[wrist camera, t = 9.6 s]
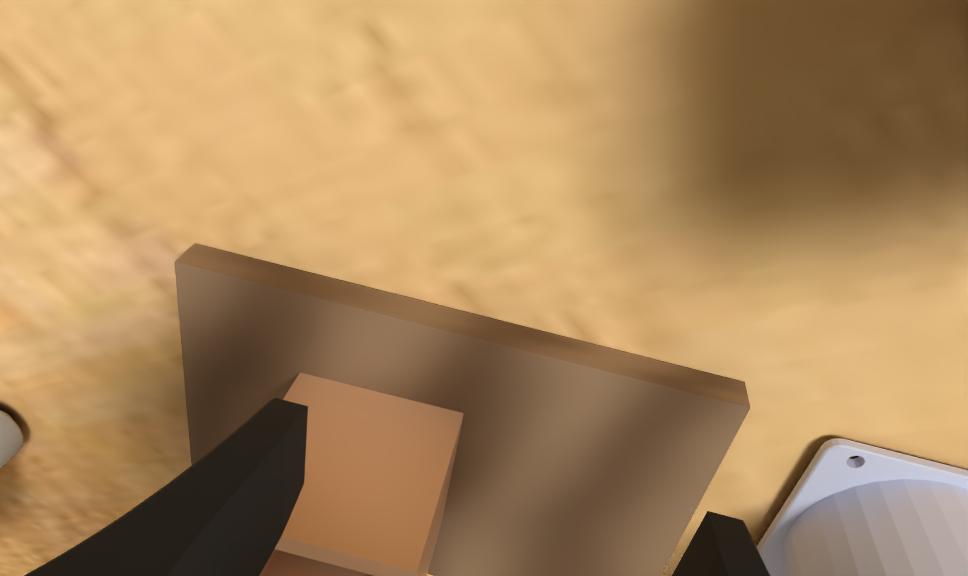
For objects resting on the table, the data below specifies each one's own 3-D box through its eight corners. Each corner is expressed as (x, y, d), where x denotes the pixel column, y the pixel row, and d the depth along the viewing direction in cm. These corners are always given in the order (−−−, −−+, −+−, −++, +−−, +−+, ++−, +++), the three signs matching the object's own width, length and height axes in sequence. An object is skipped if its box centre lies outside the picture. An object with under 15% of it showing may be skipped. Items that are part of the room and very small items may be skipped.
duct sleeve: (463, 413, 23) (416, 572, 18) (441, 521, 26) (396, 683, 21) (299, 372, 23) (207, 517, 18) (297, 484, 26) (218, 635, 21)
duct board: (744, 382, 21) (770, 500, 18) (631, 601, 28) (632, 723, 24) (195, 243, 22) (102, 326, 18) (210, 487, 29) (145, 586, 25)
